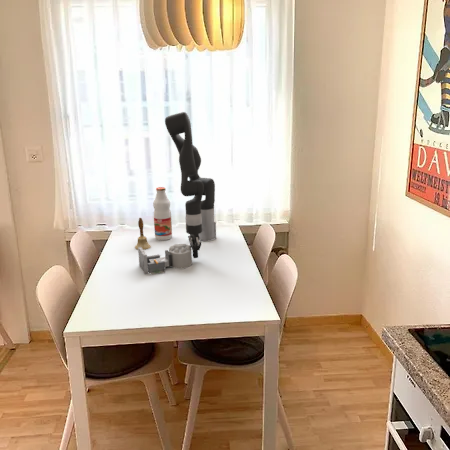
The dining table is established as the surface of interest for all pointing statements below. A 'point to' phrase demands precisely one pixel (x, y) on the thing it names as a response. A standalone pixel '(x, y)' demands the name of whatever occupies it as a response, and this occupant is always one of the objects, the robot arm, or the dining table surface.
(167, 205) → the fruit juice
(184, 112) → the robot arm
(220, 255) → the dining table surface
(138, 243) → the hand bell
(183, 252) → the paw print stamp
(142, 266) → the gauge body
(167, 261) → the grey boxy piece
